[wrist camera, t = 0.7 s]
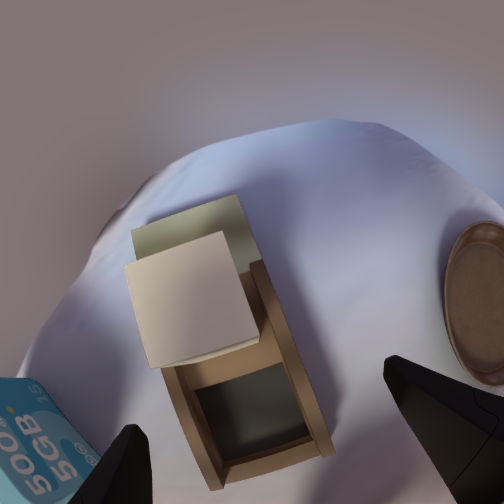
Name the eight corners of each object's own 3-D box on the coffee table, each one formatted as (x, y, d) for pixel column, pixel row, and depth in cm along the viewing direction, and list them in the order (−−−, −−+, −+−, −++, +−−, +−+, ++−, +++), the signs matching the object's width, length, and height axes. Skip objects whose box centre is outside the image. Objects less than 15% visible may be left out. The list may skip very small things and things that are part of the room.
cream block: (258, 342, 21) (259, 334, 12) (196, 362, 21) (150, 369, 11) (236, 281, 23) (222, 230, 14) (177, 302, 22) (124, 265, 13)
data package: (112, 467, 19) (37, 512, 8) (91, 487, 18) (21, 529, 7) (36, 376, 22) (-51, 371, 11) (20, 400, 21) (-60, 402, 9)
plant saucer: (539, 296, 23) (554, 291, 21) (488, 415, 19) (505, 418, 17) (466, 203, 28) (479, 190, 25) (397, 317, 24) (412, 312, 21)
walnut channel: (328, 441, 20) (341, 456, 16) (216, 477, 19) (210, 496, 15) (237, 204, 27) (235, 181, 24) (138, 238, 27) (122, 221, 23)
